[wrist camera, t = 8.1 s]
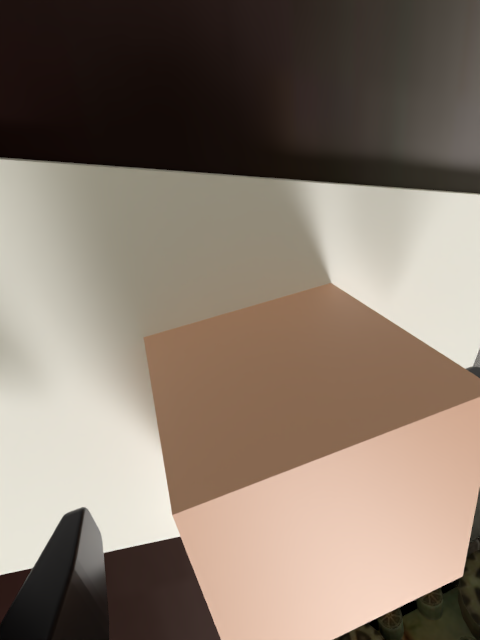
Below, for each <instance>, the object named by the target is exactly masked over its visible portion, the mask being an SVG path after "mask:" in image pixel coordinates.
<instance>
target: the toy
mask: <svg viewBox="0 0 480 640" xmlns="http://www.w3.org/2000/svg"><path fill="white" fill-rule="evenodd" d="M416 601H417V609H416V610H414V611H412V612H410V613H408V614H406V615H405V616H403V617H402V612H401V610H400V608H397V609H395V610H393V611H391V612H389V613H386V614H384V615H382V616H380V617H378V618H376V619H377V622H378V628H379V630H375V629H374V628H373V627H372V626H371V625H369V624H368V623H370V622H372V621H374V620H376V619H374V620H372V621H370V622H368V623H366V624H364V625H362V626H360V627H358V628H356V629H354V630H352V631H350V632H347V633H345V634H343V635H341V636H339V637H337V638H335V639H333V640H480V538H478V539H476V540H475V541H473V542H471V543H469V546H468V551H467V557H466V562H465V567H464V573H463V576H462V577H460V578H459V586H457V587H456V588H454V589H452V590H450V591H448V592H447V593H445V594H443V593H442V590H441V588H438V589H436V590H434V591H432V592H430V593H428V594H425V595H423V596H421V597H419V598H417V599H416Z"/></svg>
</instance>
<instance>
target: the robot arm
mask: <svg viewBox="0 0 480 640" xmlns="http://www.w3.org/2000/svg"><path fill="white" fill-rule="evenodd" d="M466 370H468V371H469V372H471V373H473V374H474V375H476V376H477V377H479V378H480V368H479V367H468V368H466ZM0 640H109V615H108V601H107V589H106V577H105V566H104V554H103V542H102V536H101V533H100V530H99V528H98V526H97V525H96V523H95V521H94V519H93V517H92V515H91V514H90V512H89V510H88V509H87V508H86V507H81V508H78V509H76V510H73V511H70V512H68V513H66V514H65V515H64V516H63V517H62V518H61V520H60V522H59V524H58V525H57V527H56V529H55V530H54V532H53V534H52V536H51V537H50V539H49V541H48V543H47V544H46V546H45V548H44V550H43V551H42V553H41V555H40V556H39V558H38V560H37V562H36V563H35V565H34V567H33V569H32V570H31V572H30V574H29V575H28V577H27V579H26V581H25V582H24V584H23V586H22V588H21V589H20V591H19V593H18V594H17V596H16V598H15V600H14V601H13V603H12V605H11V607H10V608H9V610H8V612H7V614H6V615H5V617H4V619H3V620H2V622H1V624H0Z"/></svg>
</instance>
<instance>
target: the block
mask: <svg viewBox="0 0 480 640" xmlns="http://www.w3.org/2000/svg"><path fill="white" fill-rule="evenodd" d="M144 343H145V349H146V356H147V362H148V368H149V374H150V380H151V387H152V393H153V399H154V405H155V411H156V418H157V424H158V430H159V436H160V442H161V449H162V455H163V461H164V467H165V473H166V480H167V486H168V492H169V498H170V504H171V511H172V516H173V518H174V521H175V523H176V526H177V529H178V531H179V534H180V536H181V539H182V541H183V544H184V546H185V549H186V551H187V554H188V557H189V559H190V562H191V564H192V567H193V569H194V572H195V574H196V577H197V579H198V582H199V585H200V587H201V590H202V592H203V595H204V597H205V600H206V602H207V605H208V607H209V610H210V613H211V615H212V618H213V620H214V623H215V625H216V628H217V630H218V633H219V635H220V638H221V640H333V639H335V638H337V637H339V636H341V635H343V634H345V633H347V632H350V631H352V630H354V629H356V628H358V627H360V626H362V625H364V624H366V623H368V622H370V621H372V620H374V619H376V618H378V617H380V616H382V615H384V614H386V613H389V612H391V611H393V610H395V609H397V608H399V607H401V606H403V605H405V604H407V603H409V602H411V601H413V600H415V599H417V598H419V597H421V596H423V595H425V594H428V593H430V592H432V591H434V590H436V589H438V588H440V587H442V586H444V585H446V584H448V583H450V582H452V581H454V580H456V579H458V578H460V577H462V576H463V573H464V567H465V562H466V557H467V551H468V546H469V541H470V536H471V530H472V525H473V520H474V514H475V509H476V504H477V499H478V493H479V488H480V378H479V377H477V376H476V375H474V374H473V373H471V372H469V371H468V370H466V369H465V368H463V367H462V366H460V365H459V364H457V363H455V362H454V361H452V360H451V359H449V358H448V357H446V356H444V355H443V354H441V353H440V352H438V351H437V350H435V349H434V348H432V347H430V346H429V345H427V344H426V343H424V342H423V341H421V340H419V339H418V338H416V337H415V336H413V335H412V334H410V333H409V332H407V331H405V330H404V329H402V328H401V327H399V326H398V325H396V324H394V323H393V322H391V321H390V320H388V319H387V318H385V317H384V316H382V315H380V314H379V313H377V312H376V311H374V310H373V309H371V308H369V307H368V306H366V305H365V304H363V303H362V302H360V301H359V300H357V299H355V298H354V297H352V296H351V295H349V294H348V293H346V292H344V291H343V290H341V289H340V288H338V287H337V286H335V285H334V284H332V283H329V284H326V285H322V286H319V287H315V288H312V289H308V290H305V291H301V292H298V293H295V294H291V295H288V296H284V297H281V298H277V299H274V300H271V301H267V302H264V303H260V304H257V305H253V306H250V307H246V308H243V309H240V310H236V311H233V312H229V313H226V314H222V315H219V316H215V317H212V318H209V319H205V320H202V321H198V322H195V323H191V324H188V325H184V326H181V327H178V328H174V329H171V330H167V331H164V332H160V333H157V334H154V335H150V336H147V337H144Z"/></svg>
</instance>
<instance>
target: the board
mask: <svg viewBox="0 0 480 640" xmlns="http://www.w3.org/2000/svg"><path fill="white" fill-rule="evenodd" d="M329 283H332V284H334V285H335V286H337V287H338V288H340V289H341V290H343V291H344V292H346V293H348V294H349V295H351V296H352V297H354V298H355V299H357V300H359V301H360V302H362V303H363V304H365V305H366V306H368V307H369V308H371V309H373V310H374V311H376V312H377V313H379V314H380V315H382V316H384V317H385V318H387V319H388V320H390V321H391V322H393V323H394V324H396V325H398V326H399V327H401V328H402V329H404V330H405V331H407V332H409V333H410V334H412V335H413V336H415V337H416V338H418V339H419V340H421V341H423V342H424V343H426V344H427V345H429V346H430V347H432V348H434V349H435V350H437V351H438V352H440V353H441V354H443V355H444V356H446V357H448V358H449V359H451V360H452V361H454V362H455V363H457V364H459V365H460V366H462V367H463V368H465V369H466V368H468V367H473V364H474V361H475V359H476V356H477V354H478V351H479V348H480V194H479V193H466V192H453V191H440V190H426V189H413V188H400V187H386V186H373V185H360V184H346V183H333V182H320V181H307V180H293V179H280V178H267V177H253V176H240V175H227V174H213V173H200V172H187V171H174V170H160V169H147V168H134V167H120V166H107V165H94V164H81V163H67V162H54V161H41V160H27V159H14V158H1V157H0V575H2V574H7V573H11V572H16V571H21V570H25V569H30V568H33V567H34V565H35V563H36V562H37V560H38V558H39V556H40V555H41V553H42V551H43V550H44V548H45V546H46V544H47V543H48V541H49V539H50V537H51V536H52V534H53V532H54V530H55V529H56V527H57V525H58V524H59V522H60V520H61V518H62V517H63V516H64V515H65V514H66V513H68V512H70V511H73V510H76V509H78V508H81V507H86V508H87V509H88V510H89V512H90V514H91V515H92V517H93V519H94V521H95V523H96V525H97V526H98V528H99V530H100V533H101V536H102V542H103V553H104V552H109V551H114V550H118V549H123V548H128V547H132V546H137V545H142V544H146V543H151V542H156V541H160V540H165V539H170V538H174V537H179V536H180V534H179V531H178V529H177V526H176V523H175V521H174V518H173V516H172V511H171V504H170V498H169V492H168V486H167V480H166V473H165V467H164V461H163V455H162V449H161V442H160V436H159V430H158V424H157V418H156V411H155V405H154V399H153V393H152V387H151V380H150V374H149V368H148V362H147V356H146V349H145V343H144V337H147V336H150V335H154V334H157V333H160V332H164V331H167V330H171V329H174V328H178V327H181V326H184V325H188V324H191V323H195V322H198V321H202V320H205V319H209V318H212V317H215V316H219V315H222V314H226V313H229V312H233V311H236V310H240V309H243V308H246V307H250V306H253V305H257V304H260V303H264V302H267V301H271V300H274V299H277V298H281V297H284V296H288V295H291V294H295V293H298V292H301V291H305V290H308V289H312V288H315V287H319V286H322V285H326V284H329Z"/></svg>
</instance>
